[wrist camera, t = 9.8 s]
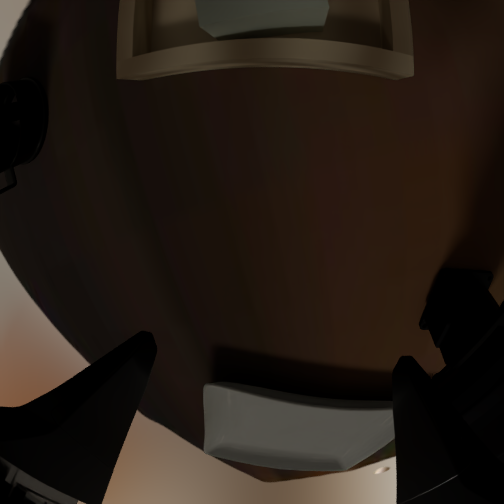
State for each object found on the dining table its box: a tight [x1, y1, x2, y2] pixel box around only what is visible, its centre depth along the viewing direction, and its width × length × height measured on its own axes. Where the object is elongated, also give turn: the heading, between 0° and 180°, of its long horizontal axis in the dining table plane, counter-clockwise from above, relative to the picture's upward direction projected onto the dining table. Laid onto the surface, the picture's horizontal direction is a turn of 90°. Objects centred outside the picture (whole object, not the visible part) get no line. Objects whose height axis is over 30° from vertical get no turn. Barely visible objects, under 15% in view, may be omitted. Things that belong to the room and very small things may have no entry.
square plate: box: [203, 381, 395, 471], centre depth 33 cm, size 27×27×4 cm
